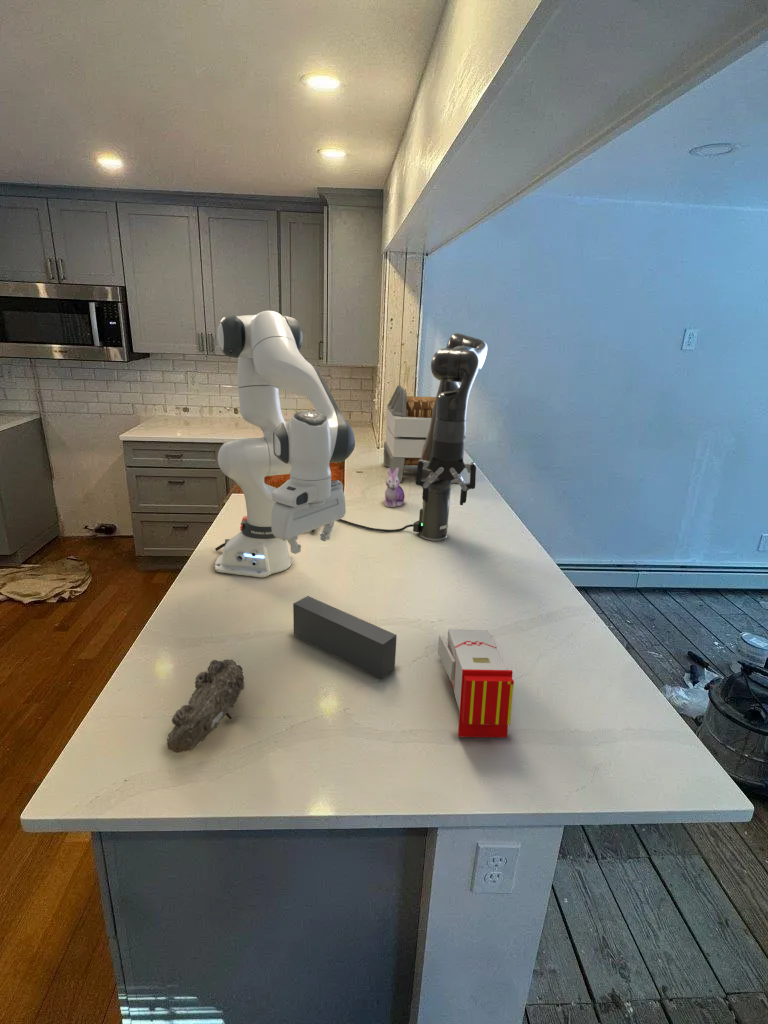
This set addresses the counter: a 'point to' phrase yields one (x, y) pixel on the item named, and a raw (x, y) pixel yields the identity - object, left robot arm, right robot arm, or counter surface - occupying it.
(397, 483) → the figurine
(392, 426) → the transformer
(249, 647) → the counter surface
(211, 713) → the fossil
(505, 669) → the toy
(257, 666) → the counter surface
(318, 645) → the bar
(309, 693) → the counter surface
